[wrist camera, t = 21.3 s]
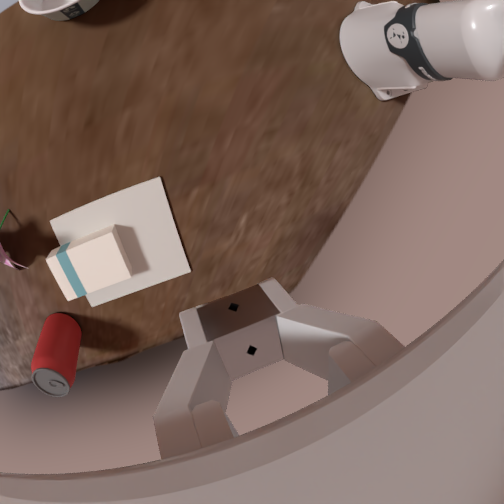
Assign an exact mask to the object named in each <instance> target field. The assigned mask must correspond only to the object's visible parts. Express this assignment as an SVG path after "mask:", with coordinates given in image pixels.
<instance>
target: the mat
mask: <svg viewBox="0 0 504 504" xmlns="http://www.w3.org/2000/svg"><path fill="white" fill-rule="evenodd" d="M50 223H51V225H52V228H53V230H54V232H55V235H56V237H57V239H58V242H59V244H60V246H62V245H64V244H66V243H69V242H72V241H74V240H76V239H79V238H81V237H83V236H86V235H88V234H91V233H93V232H96V231H98V230H101V229H103V228H106V227H108V226H111V225H113V224H114V225H115V227H116V230H117V233H118V235H119V238H120V240H121V243H122V245H123V247H124V250H125V252H126V255H127V257H128V259H129V262H130V264H131V266H132V275H131V278H129V279H126V280H123V281H121V282H118V283H115V284H113V285H110V286H107V287H104V288H102V289H99V290H96V291H94V292H91V293H88V294H86V297H87V299H88V301H89V302H90V304H91V306H92V307H94V306H97V305H99V304H102V303H105V302H108V301H110V300H113V299H116V298H119V297H122V296H124V295H127V294H130V293H133V292H136V291H138V290H141V289H144V288H147V287H149V286H152V285H155V284H158V283H161V282H163V281H166V280H169V279H172V278H175V277H177V276H180V275H183V274H186V273H189V272H191V270H190V267H189V264H188V262H187V259H186V256H185V253H184V250H183V247H182V244H181V241H180V238H179V235H178V232H177V229H176V226H175V223H174V220H173V217H172V214H171V211H170V208H169V204H168V201H167V198H166V195H165V192H164V188H163V185H162V182H161V178H160V177H157V178H154V179H151V180H148V181H145V182H142V183H139V184H137V185H134V186H131V187H129V188H126V189H123V190H121V191H118V192H115V193H113V194H110V195H108V196H105V197H103V198H100V199H98V200H95V201H93V202H91V203H88V204H86V205H83V206H81V207H79V208H76V209H74V210H72V211H70V212H67V213H65V214H63V215H61V216H59V217H56V218H54V219H52V220H50Z"/></svg>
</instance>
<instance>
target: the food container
mask: <svg viewBox="0 0 504 504" xmlns="http://www.w3.org/2000/svg"><path fill="white" fill-rule="evenodd" d="M98 1H99V0H19V3H20V6H21V7H22V8H23V9H24V10H25V11H26V12H29V13H32V14H41V15H43V16H45V17H48V18H50V19H52V20H57V21H63V20H69V19H72V18H75V17H77V16H80V15H81V14H83V13H85V12H87V11H88V10H89V9H91V8H92V7H93V6H94V5H95V4H96V3H97V2H98Z"/></svg>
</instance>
